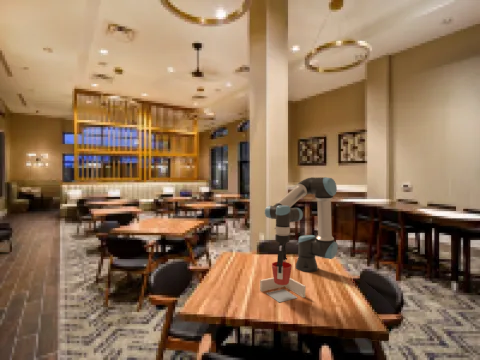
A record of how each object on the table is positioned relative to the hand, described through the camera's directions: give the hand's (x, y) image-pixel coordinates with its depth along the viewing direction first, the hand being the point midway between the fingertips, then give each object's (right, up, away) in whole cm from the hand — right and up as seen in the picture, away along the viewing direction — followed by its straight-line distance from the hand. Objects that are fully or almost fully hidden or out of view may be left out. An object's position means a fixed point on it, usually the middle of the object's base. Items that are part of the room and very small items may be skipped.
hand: (281, 275), depth 141 cm
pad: (0, -11, 0) cm, 11 cm away
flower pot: (0, -4, 0) cm, 4 cm away
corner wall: (+1, -11, +3) cm, 12 cm away
